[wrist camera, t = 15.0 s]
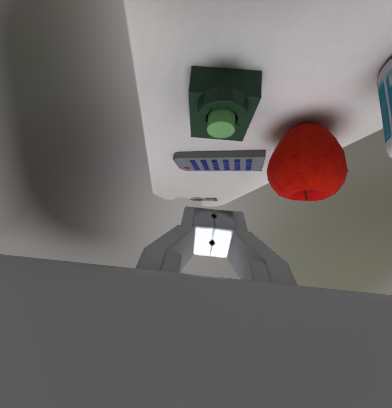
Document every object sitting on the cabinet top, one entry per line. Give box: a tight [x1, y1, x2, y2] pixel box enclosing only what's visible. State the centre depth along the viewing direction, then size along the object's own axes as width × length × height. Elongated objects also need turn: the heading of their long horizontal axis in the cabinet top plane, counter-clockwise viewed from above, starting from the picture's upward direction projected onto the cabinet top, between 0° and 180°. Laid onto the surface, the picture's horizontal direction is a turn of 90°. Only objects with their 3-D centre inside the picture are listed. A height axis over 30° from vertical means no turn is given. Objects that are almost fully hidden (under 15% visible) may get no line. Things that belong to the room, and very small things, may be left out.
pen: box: [190, 198, 218, 201], centre depth 91 cm, size 1×14×1 cm, turn 108°
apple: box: [267, 123, 348, 201], centre depth 33 cm, size 12×12×13 cm
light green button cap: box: [207, 108, 236, 138], centre depth 25 cm, size 4×4×2 cm
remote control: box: [173, 150, 265, 171], centre depth 49 cm, size 8×23×2 cm, turn 103°
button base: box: [189, 66, 262, 141], centre depth 28 cm, size 11×9×6 cm
